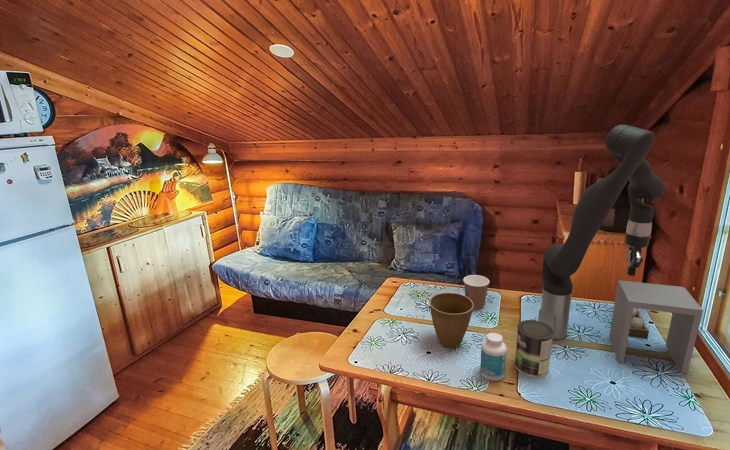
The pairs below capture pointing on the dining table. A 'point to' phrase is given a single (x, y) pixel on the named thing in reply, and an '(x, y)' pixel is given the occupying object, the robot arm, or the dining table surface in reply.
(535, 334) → the coffee can
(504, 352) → the pill bottle
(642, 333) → the tray
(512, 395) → the dining table surface
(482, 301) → the coffee cup
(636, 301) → the grey hollow frame
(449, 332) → the plant pot
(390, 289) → the dining table surface
